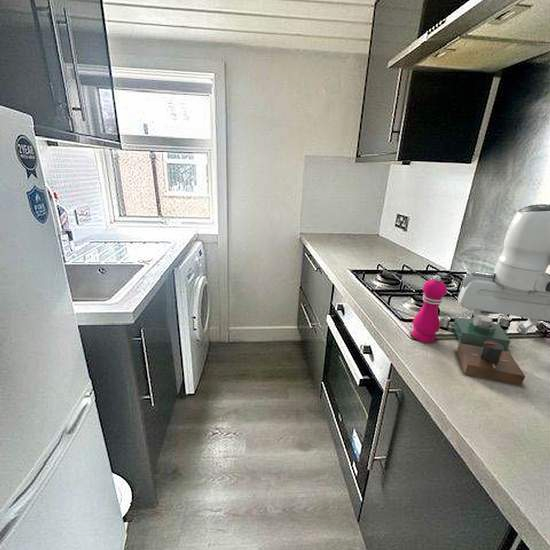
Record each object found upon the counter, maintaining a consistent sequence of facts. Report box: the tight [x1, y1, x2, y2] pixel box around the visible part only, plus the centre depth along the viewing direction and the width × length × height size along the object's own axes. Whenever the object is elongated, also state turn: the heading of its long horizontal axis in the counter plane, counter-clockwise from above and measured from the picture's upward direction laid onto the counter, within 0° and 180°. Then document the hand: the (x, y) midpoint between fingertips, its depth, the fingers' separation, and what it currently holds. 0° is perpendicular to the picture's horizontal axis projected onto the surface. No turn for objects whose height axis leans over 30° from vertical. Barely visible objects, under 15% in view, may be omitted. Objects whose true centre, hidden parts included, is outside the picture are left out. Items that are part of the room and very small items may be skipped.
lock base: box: [456, 342, 526, 387], centre depth 78 cm, size 12×10×3 cm
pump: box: [477, 314, 493, 327], centre depth 90 cm, size 4×4×2 cm
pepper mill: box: [411, 274, 448, 343], centre depth 87 cm, size 7×7×20 cm
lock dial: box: [481, 340, 504, 363], centre depth 76 cm, size 4×4×4 cm
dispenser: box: [452, 316, 511, 352], centre depth 91 cm, size 12×10×5 cm
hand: (498, 328), depth 74 cm, fingers open, 8 cm apart
